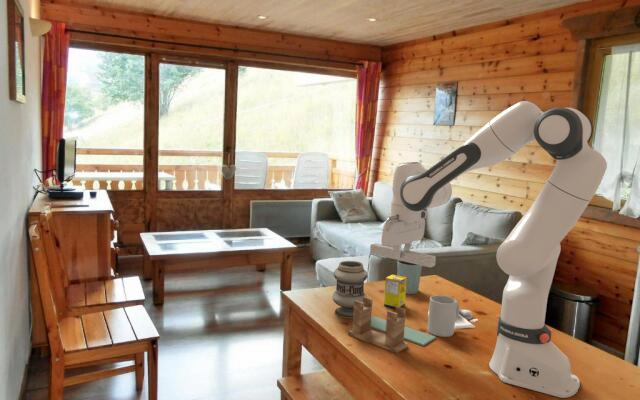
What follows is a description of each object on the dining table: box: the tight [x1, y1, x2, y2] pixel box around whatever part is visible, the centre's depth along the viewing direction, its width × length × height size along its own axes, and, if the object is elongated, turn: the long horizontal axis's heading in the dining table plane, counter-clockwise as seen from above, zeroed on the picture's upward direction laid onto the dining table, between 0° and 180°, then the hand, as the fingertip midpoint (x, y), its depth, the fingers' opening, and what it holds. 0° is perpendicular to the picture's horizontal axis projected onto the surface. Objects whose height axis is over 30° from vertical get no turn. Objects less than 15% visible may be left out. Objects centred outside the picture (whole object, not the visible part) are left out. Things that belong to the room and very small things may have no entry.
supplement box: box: [383, 274, 407, 309], centre depth 181 cm, size 6×6×11 cm
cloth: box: [427, 308, 479, 330], centre depth 173 cm, size 22×19×6 cm
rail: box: [369, 242, 437, 269], centre depth 155 cm, size 22×3×3 cm, turn 50°
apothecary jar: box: [331, 260, 368, 319], centre depth 170 cm, size 12×12×18 cm
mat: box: [371, 315, 436, 347], centre depth 158 cm, size 24×8×1 cm, turn 50°
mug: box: [426, 294, 461, 338], centre depth 160 cm, size 12×8×11 cm
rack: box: [347, 297, 409, 354], centre depth 149 cm, size 18×6×11 cm, turn 50°
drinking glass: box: [396, 260, 423, 295], centre depth 200 cm, size 10×10×12 cm
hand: (401, 256), depth 155 cm, fingers closed on rail, 3 cm apart
